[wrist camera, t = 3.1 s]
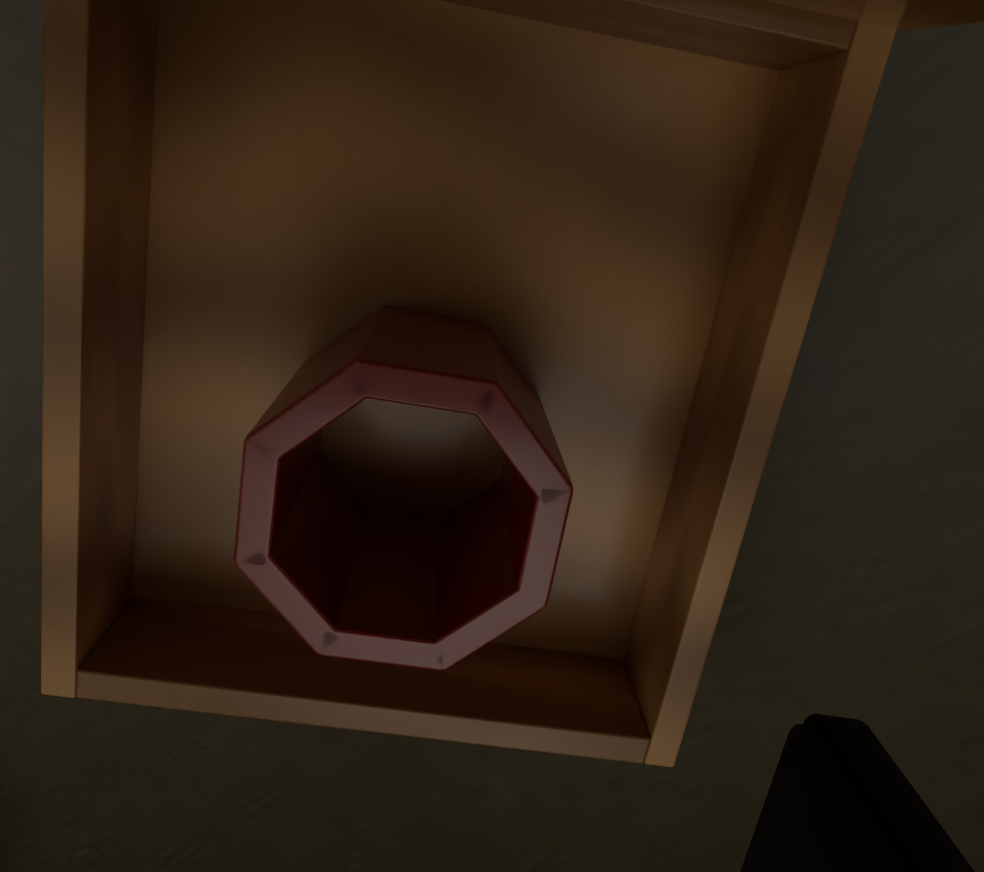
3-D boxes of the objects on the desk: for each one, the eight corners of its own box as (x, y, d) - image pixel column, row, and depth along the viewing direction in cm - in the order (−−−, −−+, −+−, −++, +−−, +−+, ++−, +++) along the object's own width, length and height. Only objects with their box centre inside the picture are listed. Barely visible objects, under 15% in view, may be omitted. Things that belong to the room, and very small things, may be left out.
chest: (637, 669, 24) (674, 768, 20) (113, 601, 23) (40, 694, 19) (807, 45, 19) (903, 12, 15) (138, -96, 18) (43, -175, 14)
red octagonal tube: (285, 520, 22) (224, 646, 16) (309, 292, 20) (251, 342, 14) (511, 552, 22) (530, 683, 16) (555, 333, 20) (595, 398, 15)
